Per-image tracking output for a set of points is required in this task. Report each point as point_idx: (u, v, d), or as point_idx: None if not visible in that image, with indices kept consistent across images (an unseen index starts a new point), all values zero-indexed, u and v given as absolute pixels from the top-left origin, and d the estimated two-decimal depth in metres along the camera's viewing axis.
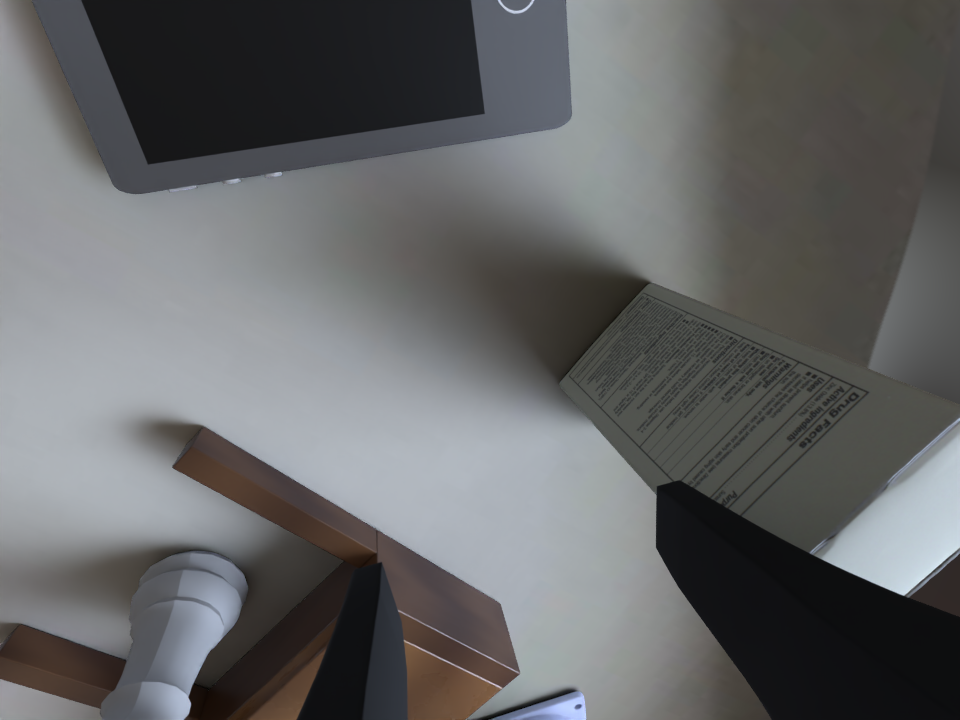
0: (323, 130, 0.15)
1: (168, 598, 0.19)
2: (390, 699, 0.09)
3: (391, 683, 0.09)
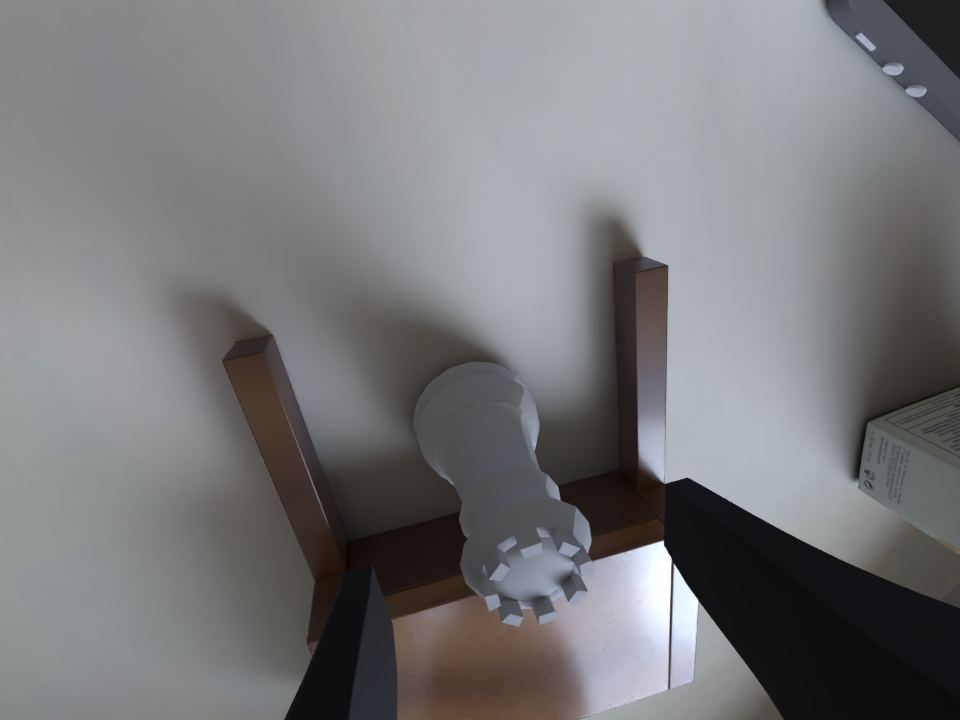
0: None
1: (511, 405, 0.15)
2: (378, 703, 0.09)
3: (380, 687, 0.09)
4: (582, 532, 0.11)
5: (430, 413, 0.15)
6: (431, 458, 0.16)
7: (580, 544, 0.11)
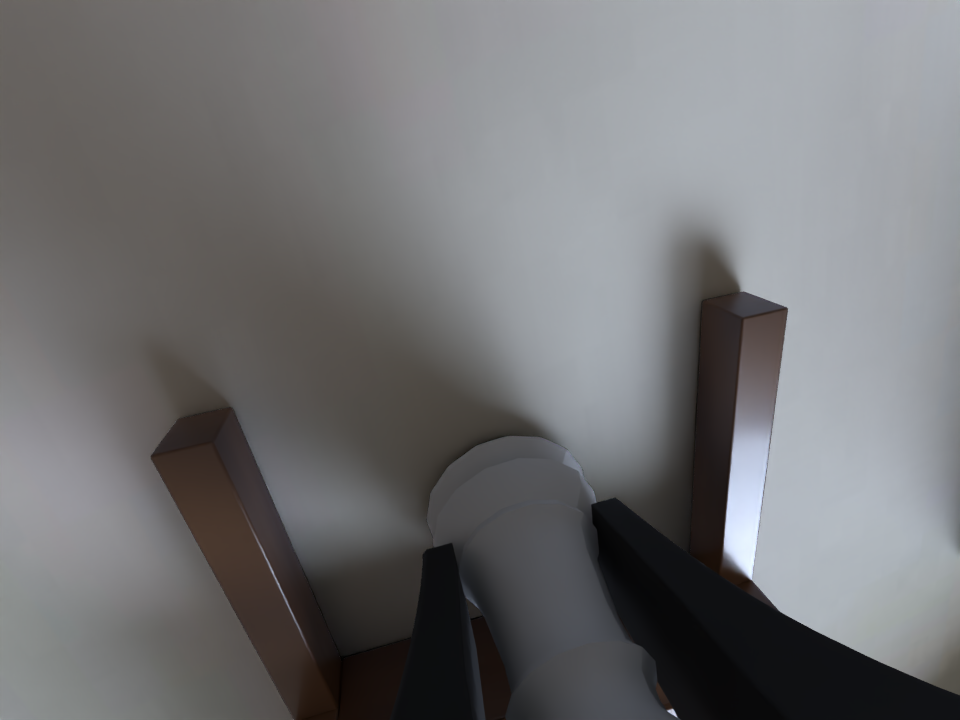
0: None
1: (567, 504, 0.11)
2: (474, 673, 0.09)
3: (472, 658, 0.09)
4: None
5: (453, 515, 0.11)
6: None
7: None
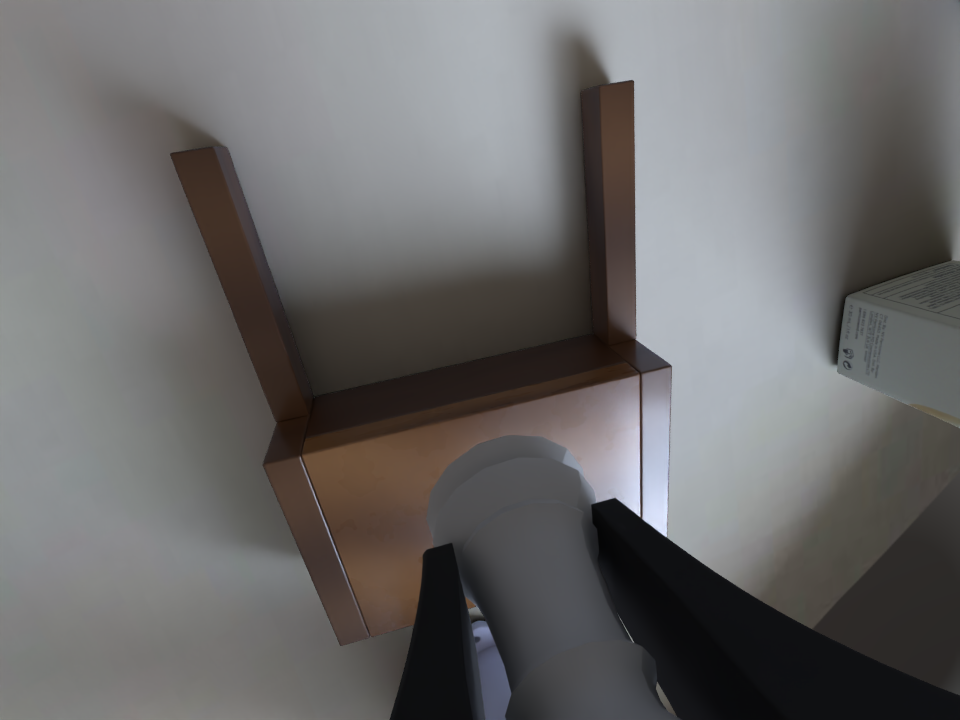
0: None
1: (567, 504, 0.11)
2: (473, 673, 0.09)
3: (472, 658, 0.09)
4: None
5: (452, 514, 0.11)
6: None
7: None
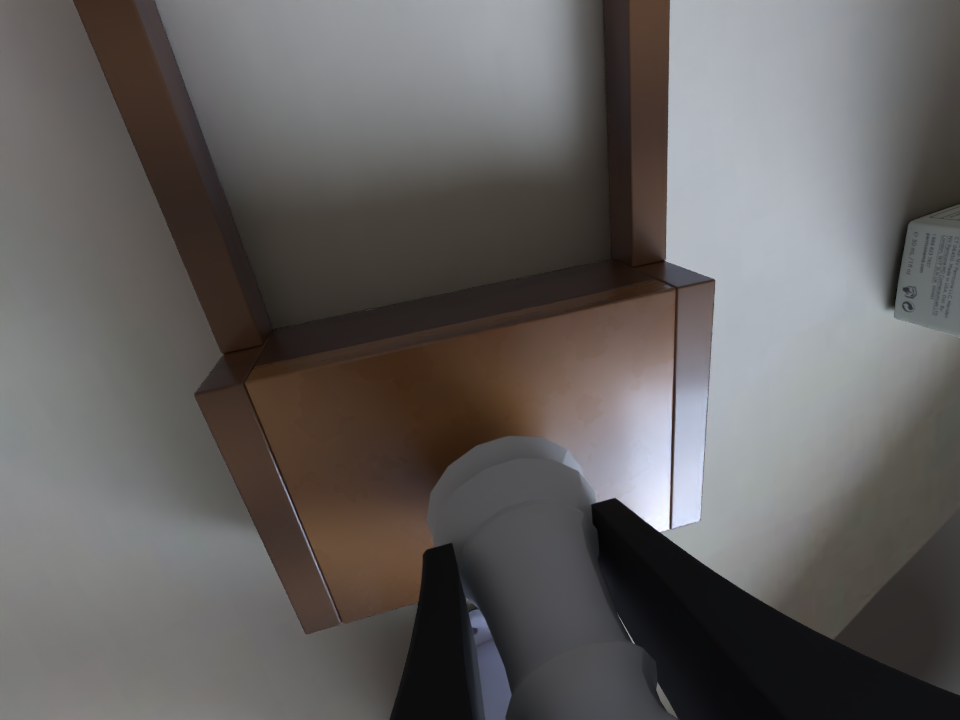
0: None
1: (567, 504, 0.11)
2: (474, 673, 0.09)
3: (472, 658, 0.09)
4: None
5: (453, 515, 0.11)
6: None
7: None
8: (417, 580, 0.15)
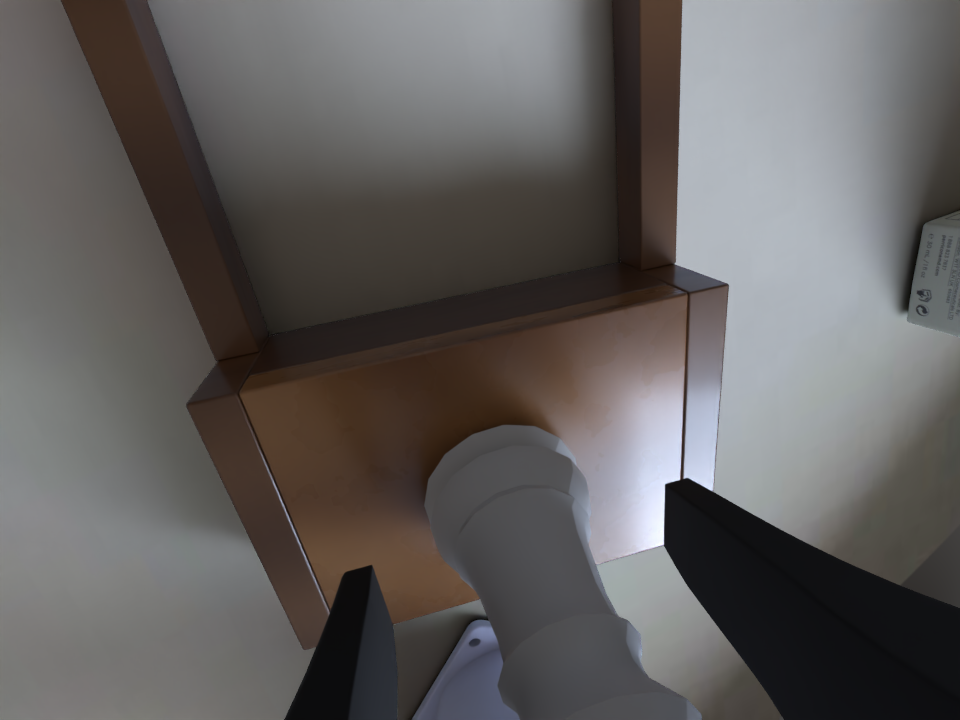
0: None
1: (559, 489, 0.11)
2: (378, 703, 0.09)
3: (380, 687, 0.09)
4: None
5: (449, 500, 0.11)
6: (450, 557, 0.12)
7: None
8: (419, 594, 0.15)
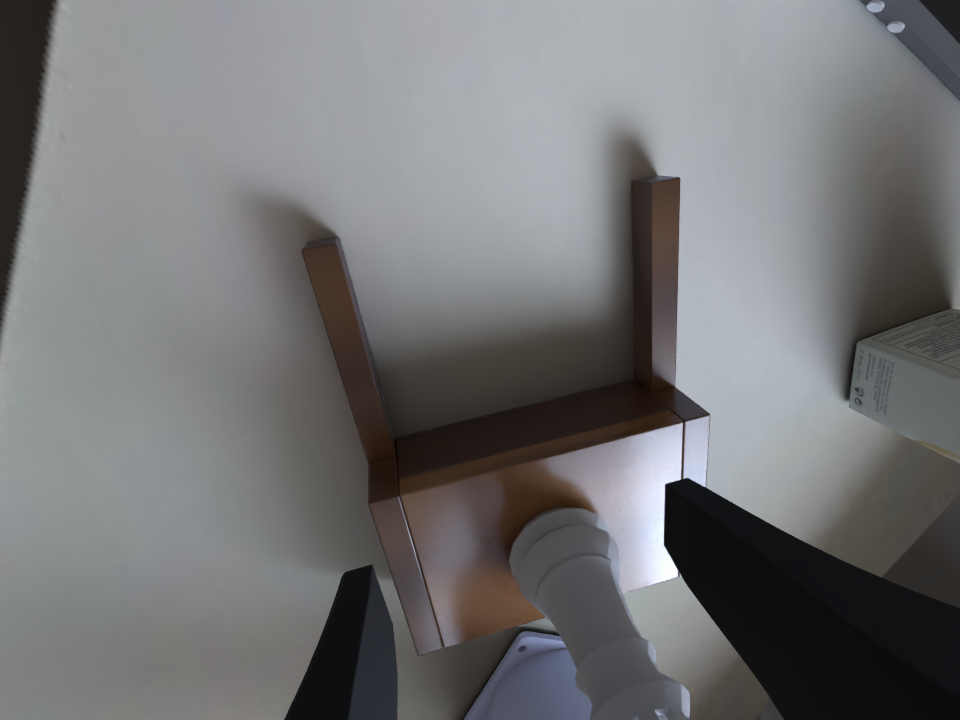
0: (951, 25, 0.18)
1: (601, 555, 0.18)
2: (378, 703, 0.09)
3: (380, 687, 0.09)
4: (686, 704, 0.14)
5: (531, 561, 0.18)
6: (530, 596, 0.18)
7: (686, 717, 0.13)
8: (498, 616, 0.21)
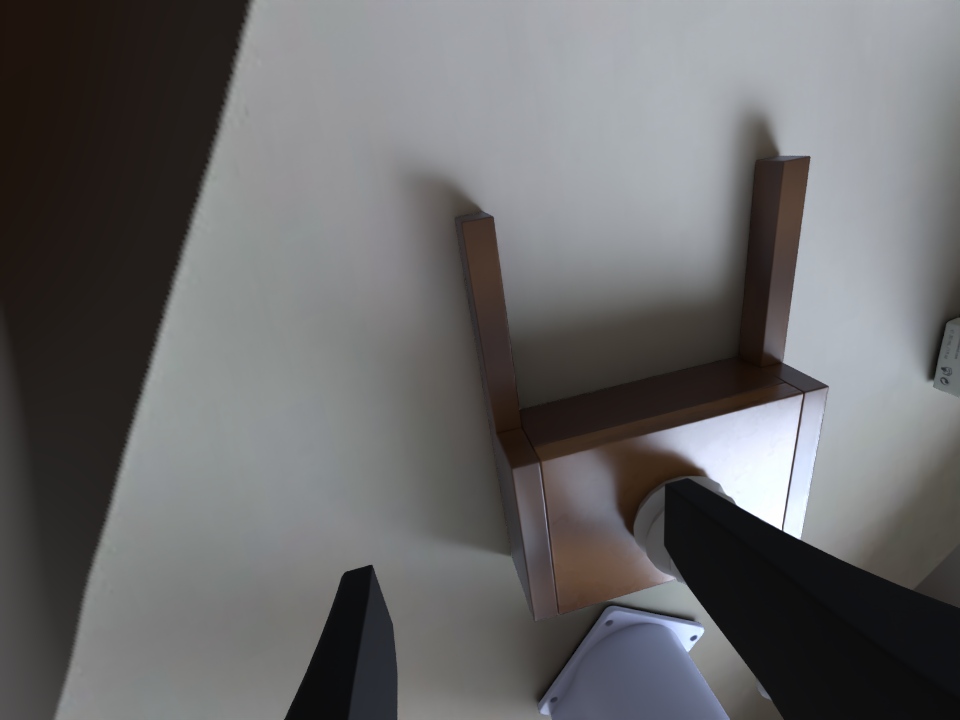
0: None
1: None
2: (378, 703, 0.09)
3: (380, 687, 0.09)
4: None
5: None
6: (661, 560, 0.19)
7: None
8: (612, 584, 0.22)
